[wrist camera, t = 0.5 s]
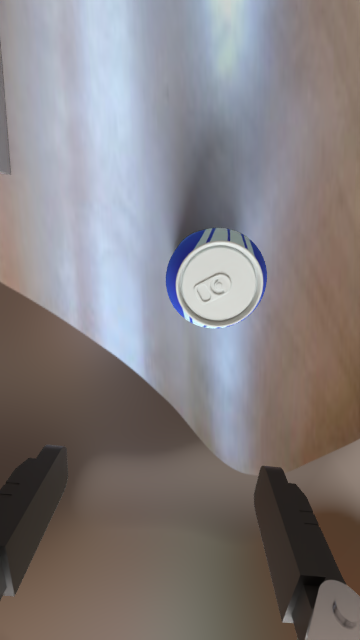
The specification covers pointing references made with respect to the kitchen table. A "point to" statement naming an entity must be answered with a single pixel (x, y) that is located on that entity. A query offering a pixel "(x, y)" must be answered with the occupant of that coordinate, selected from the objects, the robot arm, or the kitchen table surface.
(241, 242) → the beer can
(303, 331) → the kitchen table surface
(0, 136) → the breaker panel
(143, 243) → the kitchen table surface
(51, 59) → the kitchen table surface
